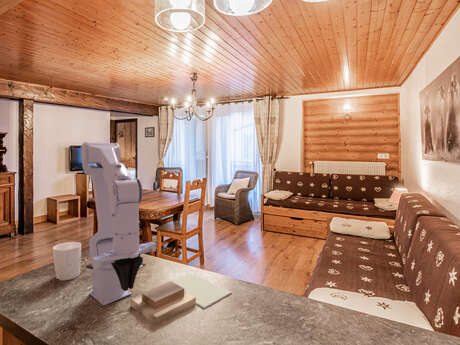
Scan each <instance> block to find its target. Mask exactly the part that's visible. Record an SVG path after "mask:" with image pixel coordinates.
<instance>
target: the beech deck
mask: <svg viewBox="0 0 460 345" xmlns="http://www.w3.org/2000/svg"><path fill="white" fill-rule="evenodd" d="M196 305H197V304H196V297H194V296H192V295H190V294H189V293H187V292H185V291H184V296H182V297H180V298H178V299H176V300H174V301H172V302H170V303H168V304H166V305H164V306H162V307H160V308H157V309H153V308H152V307H150V306H149V305H148V304H146V303H145V302H143V301H142V293H140V294H139V295H136V296H134V297H131V298H130V307H132V308H133V309H135V311H137V313H140V314H141V315H142V316H144V317H145V318H146V319H148V320H149V321H150V322H151V323H153V324H154V325H155V326H159V325H161V324H162V323H165V322H166V321H168V320H170V319H172V318H173V317H176V316H177V315H179V314H182V313H183V312H185V311H187V310H189V309H190V308H193V307H194V306H196Z"/></svg>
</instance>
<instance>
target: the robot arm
mask: <svg viewBox="0 0 460 345" xmlns="http://www.w3.org/2000/svg"><path fill="white" fill-rule="evenodd" d="M80 148H81V149H80V155H81V156H80V157H81V163H82V164H81V165H82V169H83V173H84V175H85V174H86V175H87V176H89V177H90V179H91V182H92V186H93V194H94V201H95V210H96V218H97V227H98V231H97V232H96V233H95V234H94V235H92V237H91V238H90V240H89V241H88V243H89V261H90V264H91V265H92V266H93V269H92V271H91V276H92V278H91V280H92V290H90V291H88V293H89V295H90V296H92V297H93V298H94V299H95V300H96V301H98V302H99V303H100V304H101V305H102V306H106V305H108V304H111V303H114V302H116V301H118V300H121V299H123V298H126V297H128V296H131V295H132V292H131V290H132V289H133V288H134V285H135V282H136V277H137V274H138V271H139V270H140V269H141V268H140V266H141V264H142V263H143V262H144V258H143V257H142V256H141V255H144V254H146V253H150V252H152V253H154V252H156V251H157V243H155V242H153V241H149V242H144V243H140V216H139V212H140V209H139V208H140V207H139V204H140V203H141V202H142V200H143V192H144V191H143V185H142V182H141V180H140V179H139V178H138V177H137V178H136V177H132V175H131V174H130V172H129V171H128V169H127V167H126V166H125V164H123V163H121V162H120V160H121V157H122V156H121V155H122V154H121V146H120V145H119V143H117V142H114V143H113V142H87V141H83V143H82V144H81V147H80ZM139 268H140V269H139ZM129 289H130V291H129Z"/></svg>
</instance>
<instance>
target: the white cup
mask: <svg viewBox="0 0 460 345" xmlns="http://www.w3.org/2000/svg"><path fill="white" fill-rule="evenodd" d="M52 256H53V266H54V271H55V279H56V280H57V279H59V280H58V281H68V280H69V281H70V280H73V279H75V278H77V277H79V276H80V274H81V264H82V262H81V261H82V243H81V242H79V241H68V242H62V243H58V244H55V245H53V246H52Z"/></svg>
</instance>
